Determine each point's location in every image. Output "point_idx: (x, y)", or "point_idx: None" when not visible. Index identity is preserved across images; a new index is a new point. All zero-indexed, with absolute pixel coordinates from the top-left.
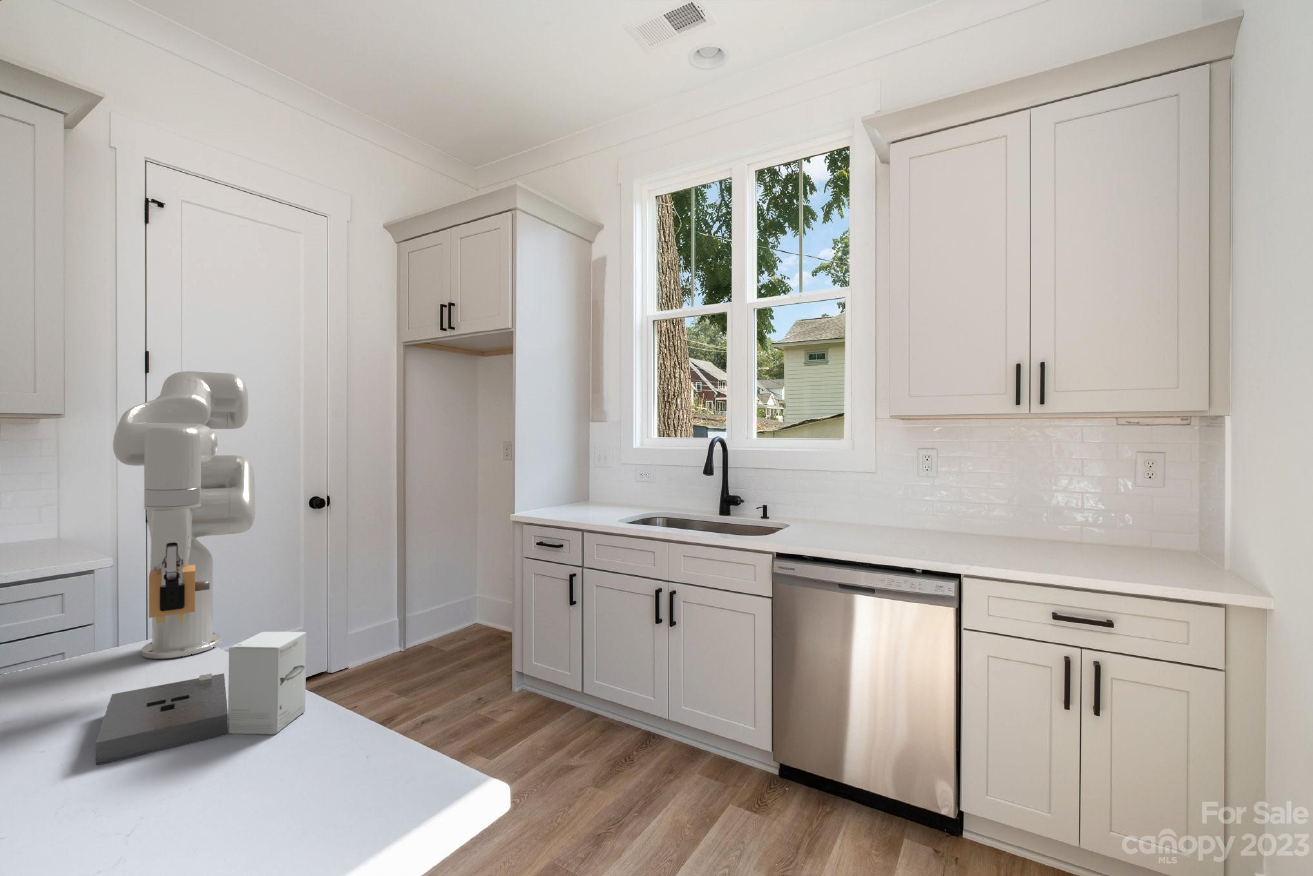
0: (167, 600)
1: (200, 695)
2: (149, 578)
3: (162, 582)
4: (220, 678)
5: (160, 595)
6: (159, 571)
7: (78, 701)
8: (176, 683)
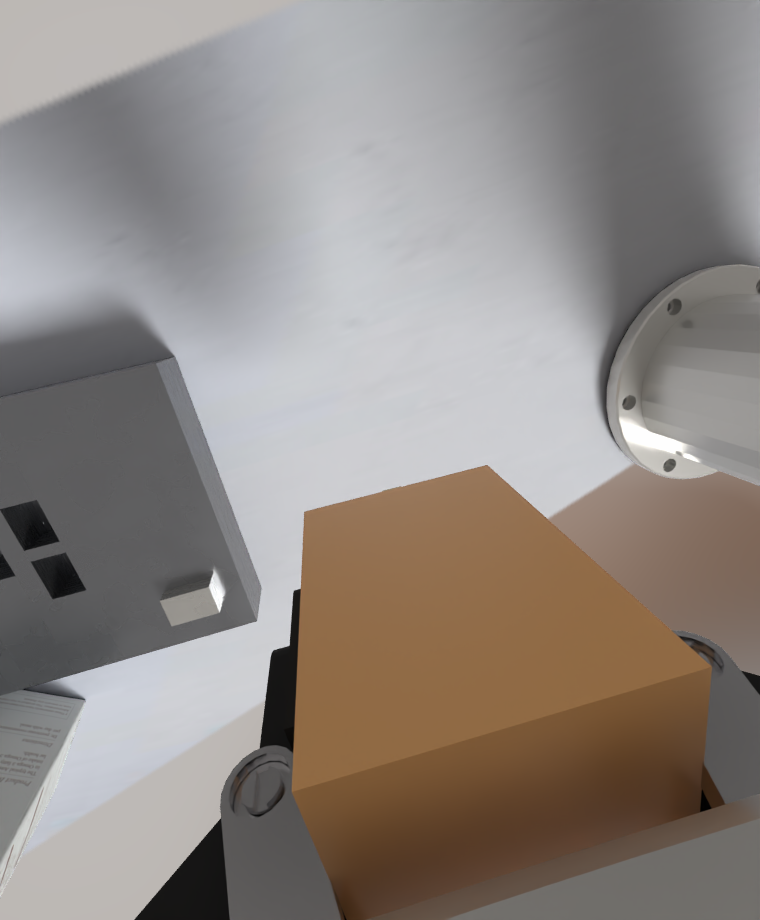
0: (269, 683)
1: (72, 619)
2: (298, 751)
3: (226, 828)
4: (212, 625)
5: (288, 670)
6: (504, 802)
7: (324, 212)
8: (205, 524)
